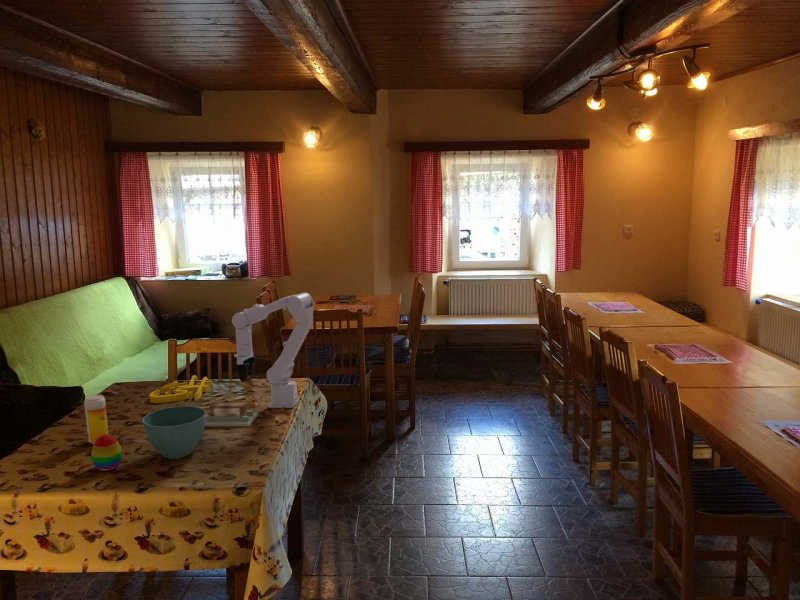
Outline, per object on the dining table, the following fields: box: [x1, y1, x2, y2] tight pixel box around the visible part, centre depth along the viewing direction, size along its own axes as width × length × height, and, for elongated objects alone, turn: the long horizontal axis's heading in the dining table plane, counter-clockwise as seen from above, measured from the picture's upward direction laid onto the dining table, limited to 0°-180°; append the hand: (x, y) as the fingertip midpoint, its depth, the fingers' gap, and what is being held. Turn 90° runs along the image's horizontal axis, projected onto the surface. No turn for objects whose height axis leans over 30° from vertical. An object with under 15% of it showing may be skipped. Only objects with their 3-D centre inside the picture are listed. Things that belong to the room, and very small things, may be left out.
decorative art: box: [149, 374, 213, 404], centre depth 264 cm, size 21×3×30 cm
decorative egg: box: [90, 434, 123, 470], centre depth 190 cm, size 8×8×10 cm
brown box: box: [209, 402, 248, 416], centre depth 227 cm, size 12×4×5 cm, turn 88°
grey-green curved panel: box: [205, 409, 259, 427], centre depth 228 cm, size 18×11×2 cm, turn 88°
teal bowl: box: [142, 405, 207, 460], centre depth 199 cm, size 18×18×12 cm
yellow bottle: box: [83, 394, 109, 445], centre depth 210 cm, size 6×6×15 cm
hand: (246, 377), depth 247 cm, fingers open, 7 cm apart
